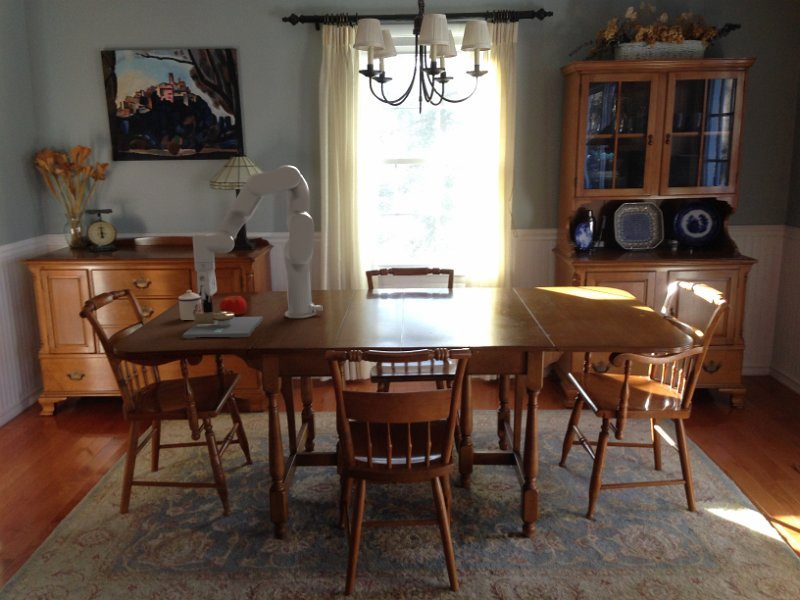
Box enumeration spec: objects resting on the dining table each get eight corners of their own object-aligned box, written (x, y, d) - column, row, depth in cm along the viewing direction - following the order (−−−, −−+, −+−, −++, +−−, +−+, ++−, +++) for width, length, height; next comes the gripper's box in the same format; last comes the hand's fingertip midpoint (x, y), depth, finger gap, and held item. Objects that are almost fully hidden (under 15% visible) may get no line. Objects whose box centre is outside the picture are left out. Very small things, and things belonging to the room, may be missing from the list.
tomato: (227, 311, 285) (225, 294, 283) (251, 312, 283) (250, 294, 281) (216, 317, 275) (214, 299, 273) (241, 318, 273) (239, 300, 271)
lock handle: (237, 319, 261) (236, 309, 260) (231, 325, 253) (231, 314, 252) (199, 320, 261) (198, 310, 260) (193, 326, 253) (192, 315, 252)
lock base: (262, 320, 269) (261, 310, 268) (248, 337, 245) (247, 326, 244) (202, 321, 269) (201, 311, 268) (183, 338, 246) (182, 327, 245)
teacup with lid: (197, 321, 270) (194, 292, 267) (176, 321, 271) (173, 292, 268) (209, 313, 281) (207, 286, 279) (189, 313, 283) (186, 286, 280)
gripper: (209, 269, 252) (212, 316, 256) (219, 262, 267) (223, 307, 271) (189, 269, 252) (192, 317, 256) (201, 262, 267) (204, 307, 271)
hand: (208, 312), depth 263 cm, fingers closed
